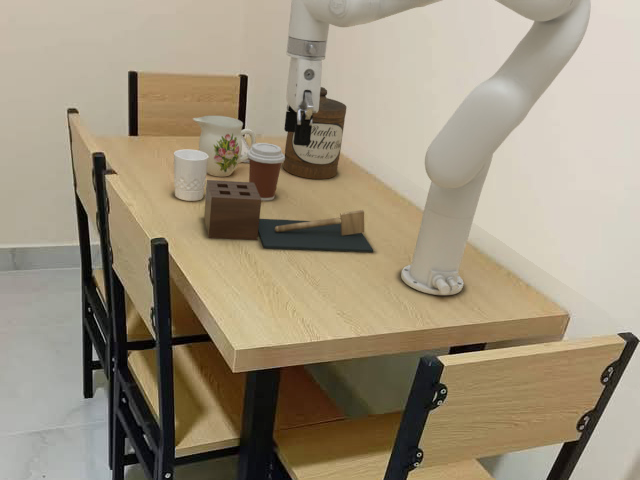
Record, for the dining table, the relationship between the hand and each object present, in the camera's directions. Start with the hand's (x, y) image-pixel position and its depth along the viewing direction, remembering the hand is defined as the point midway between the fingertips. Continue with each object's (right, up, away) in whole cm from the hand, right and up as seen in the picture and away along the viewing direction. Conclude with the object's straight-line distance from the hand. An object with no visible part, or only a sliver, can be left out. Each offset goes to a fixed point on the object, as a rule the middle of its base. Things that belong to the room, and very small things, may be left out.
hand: (296, 138), depth 150 cm
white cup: (-25, -7, +25) cm, 36 cm away
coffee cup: (-8, -5, +31) cm, 32 cm away
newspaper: (-18, +14, +60) cm, 64 cm away
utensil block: (-14, -17, +11) cm, 24 cm away
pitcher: (-19, +4, +43) cm, 47 cm away
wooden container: (+5, +7, +53) cm, 53 cm away
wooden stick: (-5, -17, +10) cm, 20 cm away
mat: (+4, -18, +13) cm, 22 cm away
